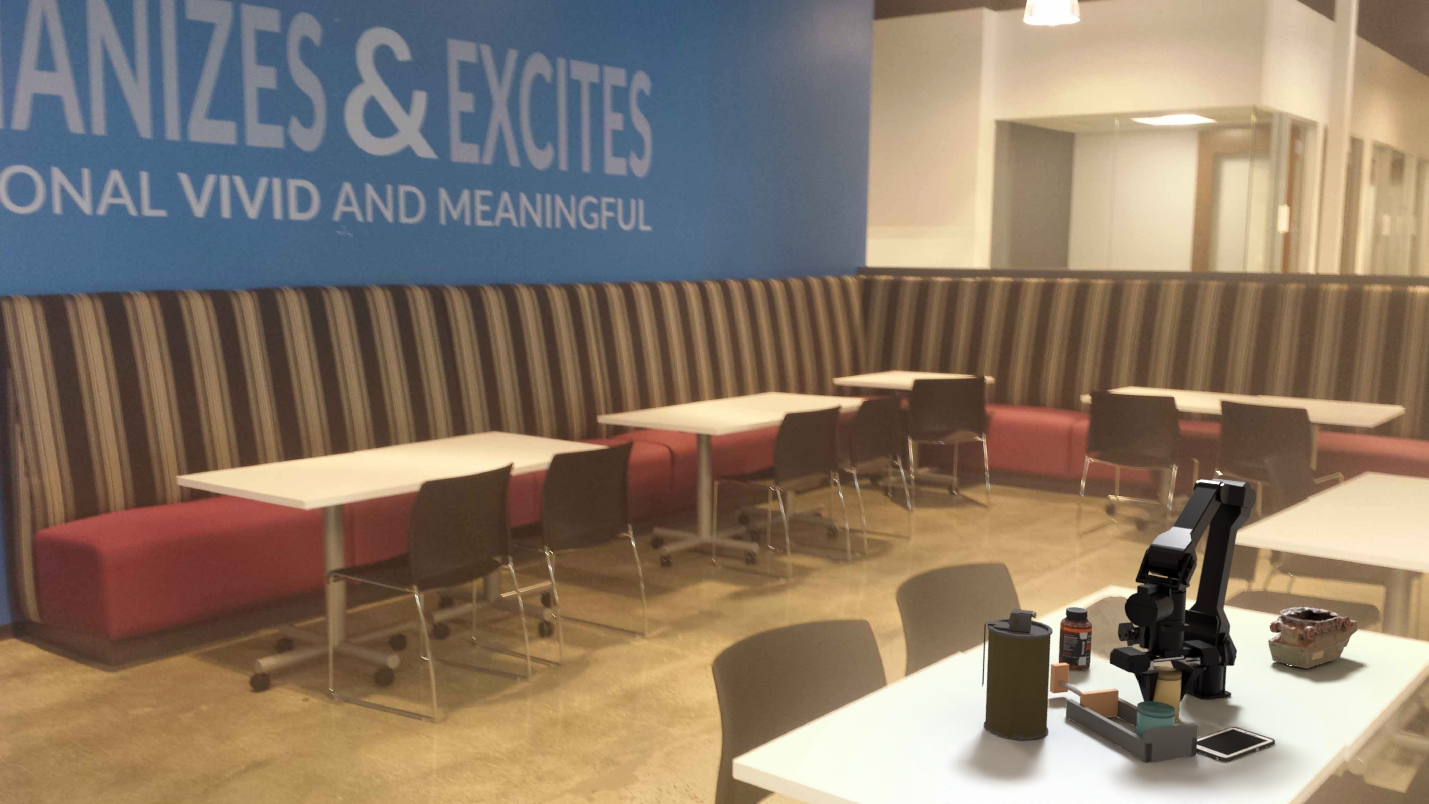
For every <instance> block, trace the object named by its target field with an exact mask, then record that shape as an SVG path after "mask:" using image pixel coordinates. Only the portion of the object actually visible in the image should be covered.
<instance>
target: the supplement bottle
mask: <svg viewBox="0 0 1429 804" xmlns="http://www.w3.org/2000/svg"><path fill="white" fill-rule="evenodd" d="M1065 616H1066V617H1064V618H1062V619H1061V620H1060V624H1059V639H1058V640H1059V641H1058V645H1059V646H1058V663H1067V664H1069V670H1071V671H1086V670H1087V669H1089V668H1090V667H1091V662H1092V661H1091V660H1092V659H1091V657H1092V635H1093V624H1092V622H1091V621H1090V620H1089V619H1088V616H1089V614H1088V610H1087V609H1086V608H1083V607H1079V606H1078V607H1077V606H1075V607H1072V606H1071V607H1070V606H1069V607H1067V608H1066V609H1065Z"/></svg>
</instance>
